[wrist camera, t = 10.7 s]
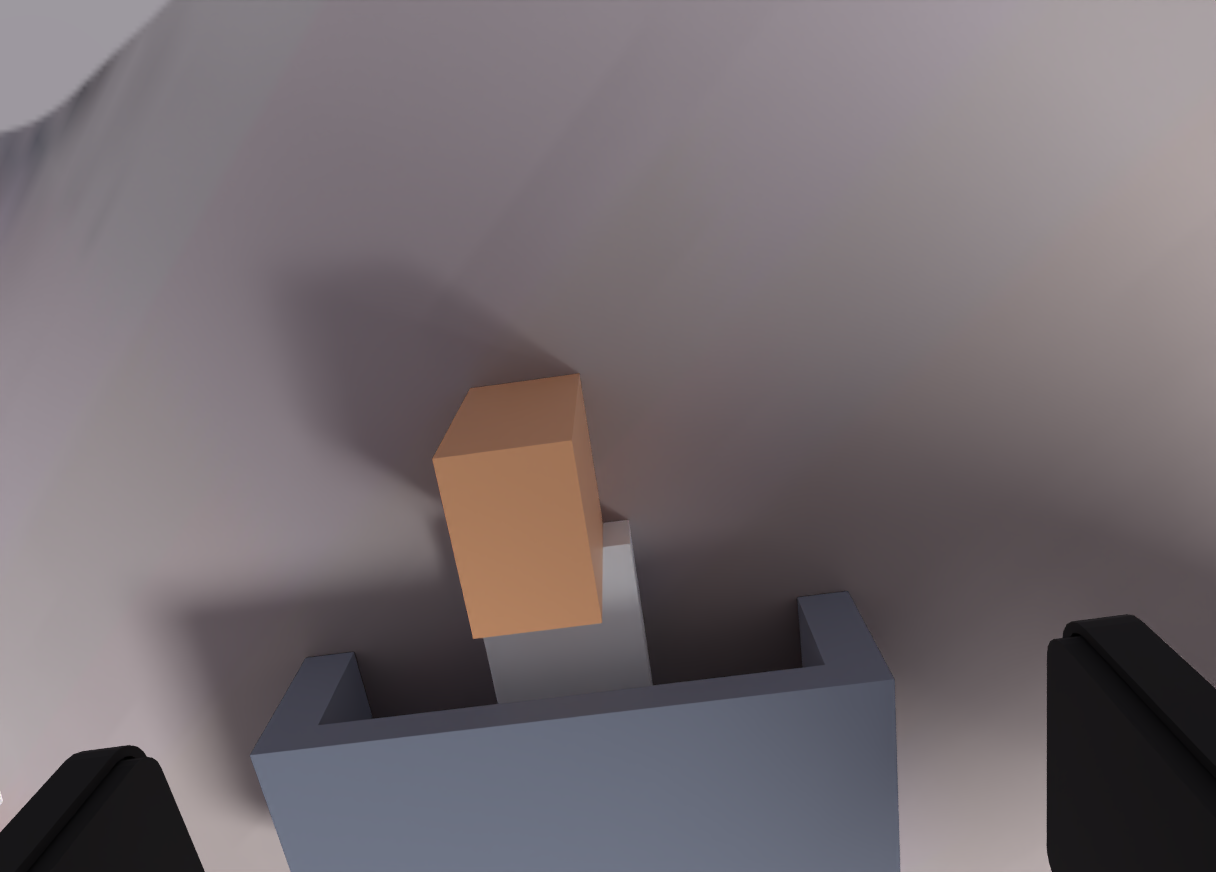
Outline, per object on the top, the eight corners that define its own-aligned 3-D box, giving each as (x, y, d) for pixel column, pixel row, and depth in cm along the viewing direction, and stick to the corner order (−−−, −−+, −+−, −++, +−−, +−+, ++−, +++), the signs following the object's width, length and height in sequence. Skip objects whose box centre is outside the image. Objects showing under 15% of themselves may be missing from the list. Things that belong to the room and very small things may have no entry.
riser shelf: (847, 591, 33) (894, 679, 28) (857, 790, 36) (901, 904, 31) (306, 657, 34) (249, 755, 29) (364, 846, 37) (323, 964, 32)
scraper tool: (606, 369, 30) (607, 435, 23) (678, 857, 38) (693, 1010, 31) (442, 391, 30) (397, 463, 24) (547, 872, 38) (534, 1026, 31)
